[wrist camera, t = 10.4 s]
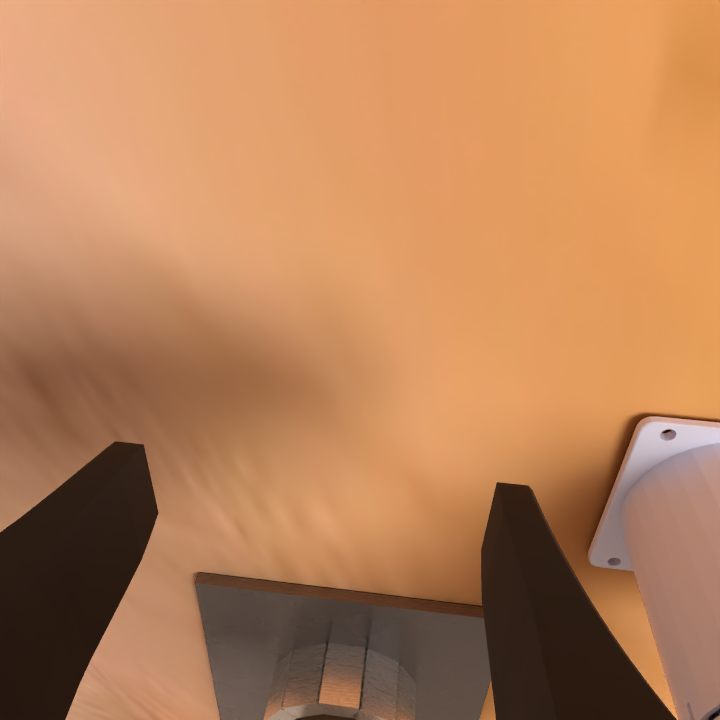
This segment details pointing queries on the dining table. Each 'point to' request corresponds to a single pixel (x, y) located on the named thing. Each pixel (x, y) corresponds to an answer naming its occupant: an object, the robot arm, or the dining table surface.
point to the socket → (340, 653)
